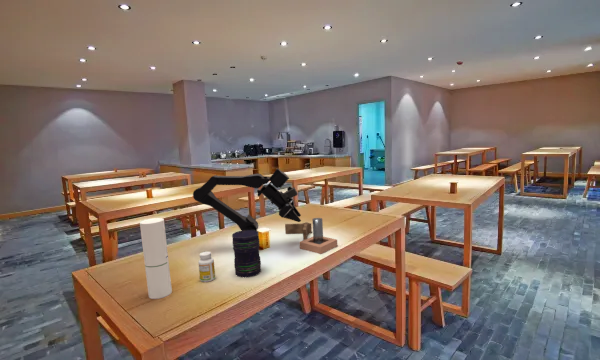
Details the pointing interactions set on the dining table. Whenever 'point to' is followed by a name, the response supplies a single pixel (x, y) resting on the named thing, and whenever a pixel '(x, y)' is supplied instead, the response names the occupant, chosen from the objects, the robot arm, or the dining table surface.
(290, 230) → the v block
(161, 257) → the cylindrical container
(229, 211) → the robot arm
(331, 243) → the sleeve block
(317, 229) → the steel axle
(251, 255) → the storage jar
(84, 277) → the dining table surface
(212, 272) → the supplement bottle
